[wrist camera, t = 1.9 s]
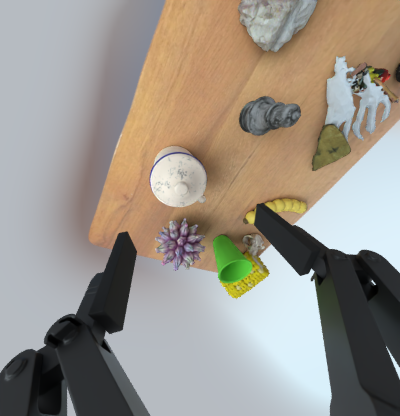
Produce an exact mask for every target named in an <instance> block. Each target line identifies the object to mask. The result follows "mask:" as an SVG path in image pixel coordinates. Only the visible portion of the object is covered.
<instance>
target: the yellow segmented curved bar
mask: <svg viewBox="0 0 400 416" xmlns="http://www.w3.org/2000/svg"><path fill="white" fill-rule="evenodd" d="M265 205H267V206H268V207H269V208H270V209H272V210H273V211H274V212H282V211H291V212H296V213H304V212H305V211H306V210H307V205H306V204H305V203H304V202H302V201H298V200H296V199H291V200H290V199H287V198H285V199H282V200H280V199H277V200H274V201H273V202H267V203H265ZM255 213H256V208H255V210H254V211H250V212H248V213H247V214H246V218H244V219H243V222H244V223H245V224H248V223H250V224H254V220H255Z"/></svg>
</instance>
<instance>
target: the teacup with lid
mask: <svg viewBox="0 0 400 416" xmlns="http://www.w3.org/2000/svg"><path fill="white" fill-rule="evenodd" d="M206 184H207V174H206V171H205V168H204V166H203V165H202V163H201V162H200V161H199V160H198V159H197V158H196V157H194V156H193V155H192V154H191V153H190V152H189V151H188V150H186V149H185V148H182V147H179V146H169V147H166V148H164V149H163V150H161V151H160V152H159V153H158V155H157V156H156V158H155V161H154V166H153V168H152V170H151V173H150V186H151V189H152V191H153V193H154V195H155V196H156V197H157V198H158V199H159V200H160V201H161V202H163V203H164V204H166V205H169V206H172V207H185V206H188V205H191V204H193V203H194V202H196V201H197V200H198V201H199V202H200V203H204V202H205V201H206V197H205V196H204V194H203V193H204V191H205V188H206Z"/></svg>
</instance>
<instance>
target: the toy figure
mask: <svg viewBox="0 0 400 416" xmlns="http://www.w3.org/2000/svg"><path fill="white" fill-rule="evenodd" d="M362 70H365V71H364V72H363V71H362ZM367 73H369V76H370V78H371V83H375V84H376V86H382V87H383V88H382V89H381V91H384V94H385V95H388V97H389V100H390V101H391V102H392V103H395V102H397V103H398V100H399V99H398V97H397V96H395V94H393V93H392V92H391V91H390V90H389V89H388V88H387V86H385V85H384V84H383V83H384V82H385V81H386V80H388V79H389V78H390V76H391V74H388V70H386V69H377V68H372V66H367V64H366V63H362V64H360V66H359V67H358V68H357V69H356V70H355V71H354V72H353V73H352V75H351V76H352V77H353V76H354V75H355V74H356V76H357V78H356V79H355V80H356V81H354V82H353V83H352V84H354V83H355V84H354V85H352V88H351V89H354V90H353V92H355V91H357V90H359V89H360V90H361V89H362V88H363V90H361V91H364V89H366V88H367V85H366V84H365V83H364V82H363V81H364V79H363V78H364V77H363V76H365V75H367ZM358 78H359V79H358ZM357 79H358V81H357Z"/></svg>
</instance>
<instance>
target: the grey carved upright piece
mask: <svg viewBox="0 0 400 416" xmlns="http://www.w3.org/2000/svg"><path fill="white" fill-rule="evenodd" d="M300 116H301V110H300V107H299V106H298V105H297V104H286V105H285V104H284V103H281V102H278V103H275V101H274V100H273V99H272V98H270V97H267V96H264V97H260V98H258V99H257V100H256V101H251V102H249V103H247V104H246V105H245V106H244V107H243V109H242V110H241V113H240V118H239V123H240V126H241V128H242V129H243V130H244V131H245V132H249V133H252V134H254V135H259V136H260V135H264V134H265V133H267V132H268V131H269V130H270V129H272V130H275V129H278V128H279V127H291V126H293V125H294V124H295V123H296V122H297V121H298V119H299V117H300Z"/></svg>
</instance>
